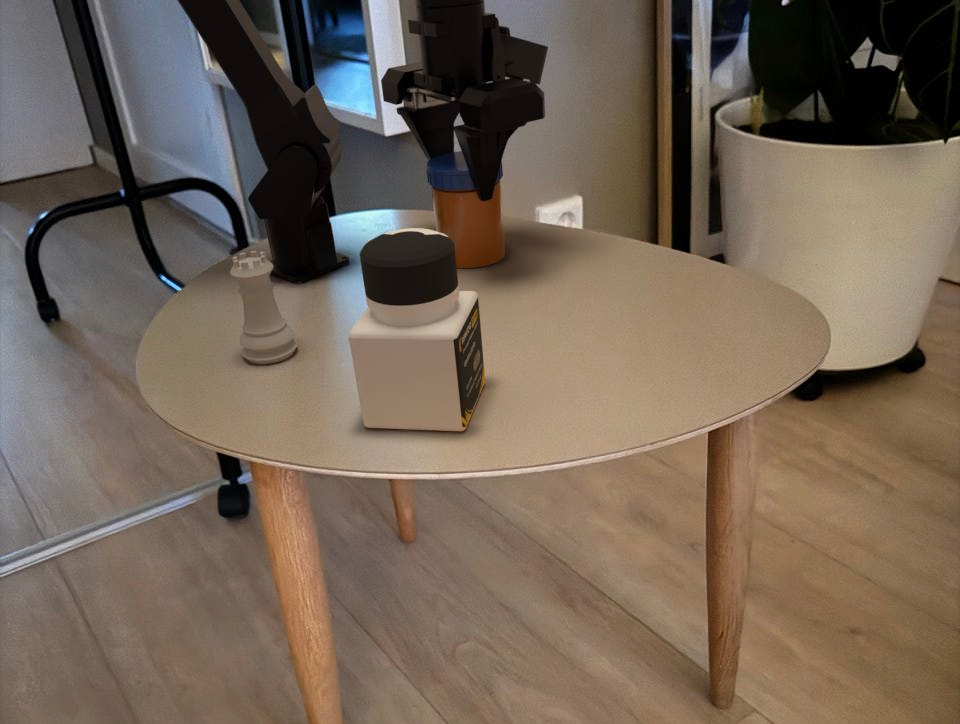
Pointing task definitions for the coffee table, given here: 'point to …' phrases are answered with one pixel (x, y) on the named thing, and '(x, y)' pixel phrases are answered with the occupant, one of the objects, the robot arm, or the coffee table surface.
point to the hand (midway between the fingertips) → (466, 192)
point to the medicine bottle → (416, 335)
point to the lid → (451, 172)
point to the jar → (471, 225)
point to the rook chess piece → (261, 312)
